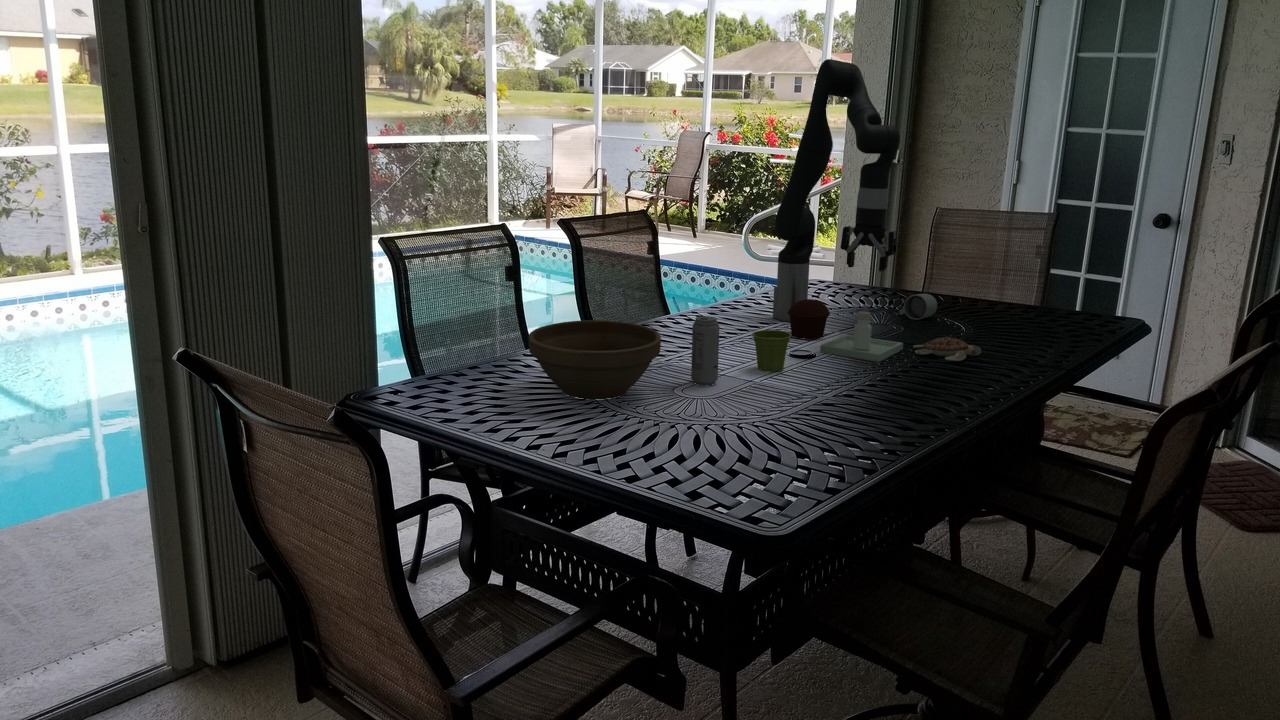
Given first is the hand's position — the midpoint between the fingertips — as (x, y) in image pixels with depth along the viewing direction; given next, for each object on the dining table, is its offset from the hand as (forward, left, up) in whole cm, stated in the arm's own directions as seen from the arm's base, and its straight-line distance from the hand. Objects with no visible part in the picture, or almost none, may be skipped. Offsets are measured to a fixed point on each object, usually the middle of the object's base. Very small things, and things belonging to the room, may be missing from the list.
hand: (866, 269), depth 242 cm
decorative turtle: (+21, +7, -22) cm, 31 cm away
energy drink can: (-14, -54, -21) cm, 60 cm away
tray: (+2, -3, -21) cm, 21 cm away
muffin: (-17, +4, -21) cm, 28 cm away
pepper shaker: (+1, -3, -21) cm, 21 cm away
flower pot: (-29, -75, -21) cm, 83 cm away
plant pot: (-8, -34, -21) cm, 41 cm away
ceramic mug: (-3, +47, -21) cm, 52 cm away
